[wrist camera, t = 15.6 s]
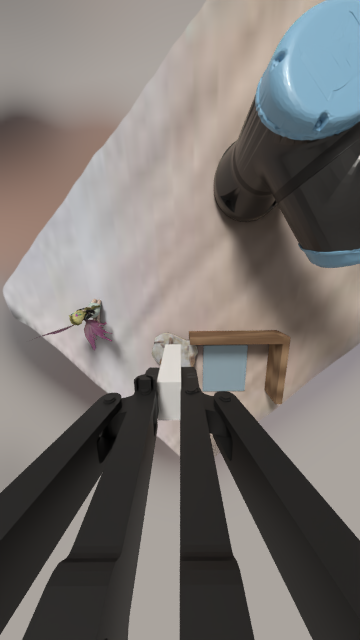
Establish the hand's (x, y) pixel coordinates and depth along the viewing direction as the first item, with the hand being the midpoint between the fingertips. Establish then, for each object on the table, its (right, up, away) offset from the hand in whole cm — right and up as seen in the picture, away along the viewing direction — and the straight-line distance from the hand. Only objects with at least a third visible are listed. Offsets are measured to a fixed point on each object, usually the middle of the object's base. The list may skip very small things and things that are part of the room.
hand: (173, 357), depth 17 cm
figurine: (-21, +5, +29) cm, 36 cm away
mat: (+13, -10, +32) cm, 36 cm away
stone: (+1, -8, +33) cm, 34 cm away
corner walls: (+15, -8, +32) cm, 36 cm away
